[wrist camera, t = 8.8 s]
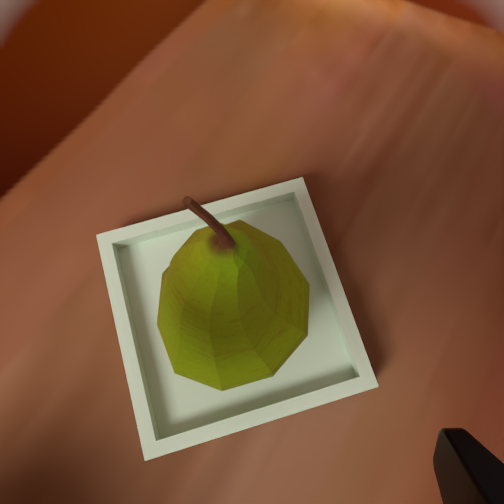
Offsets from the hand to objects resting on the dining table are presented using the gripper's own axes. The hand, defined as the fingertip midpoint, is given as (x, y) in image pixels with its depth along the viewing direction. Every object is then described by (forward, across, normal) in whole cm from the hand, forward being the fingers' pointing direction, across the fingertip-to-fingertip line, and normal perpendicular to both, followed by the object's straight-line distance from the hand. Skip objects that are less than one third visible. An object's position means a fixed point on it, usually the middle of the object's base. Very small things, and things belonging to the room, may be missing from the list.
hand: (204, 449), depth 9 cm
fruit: (+11, 0, +5) cm, 12 cm away
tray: (+12, 0, +5) cm, 13 cm away
